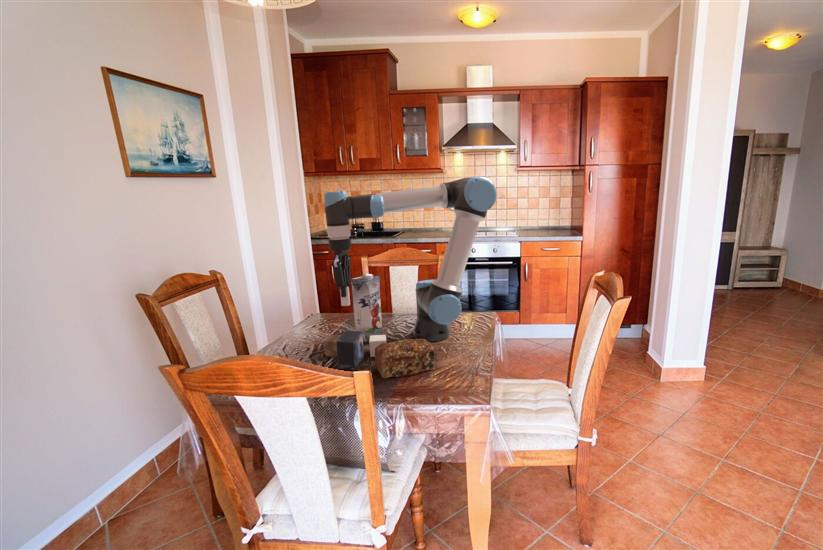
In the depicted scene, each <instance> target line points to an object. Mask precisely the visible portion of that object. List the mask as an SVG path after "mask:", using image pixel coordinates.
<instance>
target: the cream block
mask: <svg viewBox="0 0 823 550" xmlns="http://www.w3.org/2000/svg"><path fill="white" fill-rule="evenodd" d="M382 343H387V334H382V335H372V336H370V340H369V343H368V344H369V354H370V356H369V357H370V358H372V357H373V358H375V348H376V347H377V346H378V345H380V344H382Z"/></svg>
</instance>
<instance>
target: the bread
mask: <svg viewBox="0 0 823 550" xmlns="http://www.w3.org/2000/svg"><path fill="white" fill-rule="evenodd" d="M374 359H375V360H374V361H375V366H376V368H377V371H378V373H379V375H380V377H381V378H382V379H389V378H391V377H393V378H395V377H397V378H399V377H402V376H409V375H414V374H419V373H422V372H427V371H433V370H434V369H435V367H436V366H435V365H436V351H435V347H434V346H433V345H432V342H430V341H426V340H425V339H416V338H415V339H412V338H404V339H398V340H393V341H391V342H386V343H382V344H380V345H378V346H377V347H376V348H375V357H374Z"/></svg>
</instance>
